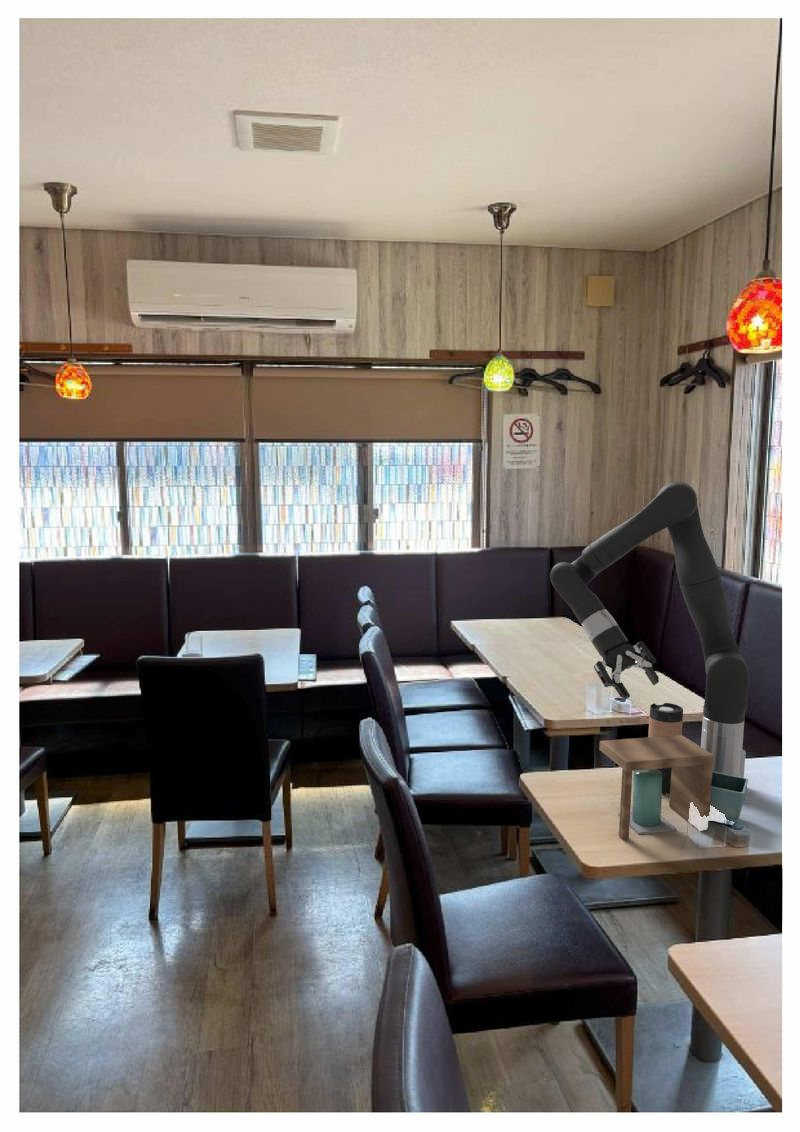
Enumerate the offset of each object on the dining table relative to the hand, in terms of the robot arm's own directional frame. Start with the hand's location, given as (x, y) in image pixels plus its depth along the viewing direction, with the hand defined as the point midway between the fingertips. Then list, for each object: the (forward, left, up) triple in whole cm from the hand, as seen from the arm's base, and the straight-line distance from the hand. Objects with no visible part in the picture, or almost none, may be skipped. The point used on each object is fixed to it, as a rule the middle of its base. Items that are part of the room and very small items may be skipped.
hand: (642, 690), depth 184 cm
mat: (+6, +15, -25) cm, 30 cm away
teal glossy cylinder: (+6, +15, -24) cm, 29 cm away
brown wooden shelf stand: (+5, +15, -25) cm, 30 cm away
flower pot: (-11, +17, -25) cm, 32 cm away
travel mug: (-7, -1, -25) cm, 26 cm away
